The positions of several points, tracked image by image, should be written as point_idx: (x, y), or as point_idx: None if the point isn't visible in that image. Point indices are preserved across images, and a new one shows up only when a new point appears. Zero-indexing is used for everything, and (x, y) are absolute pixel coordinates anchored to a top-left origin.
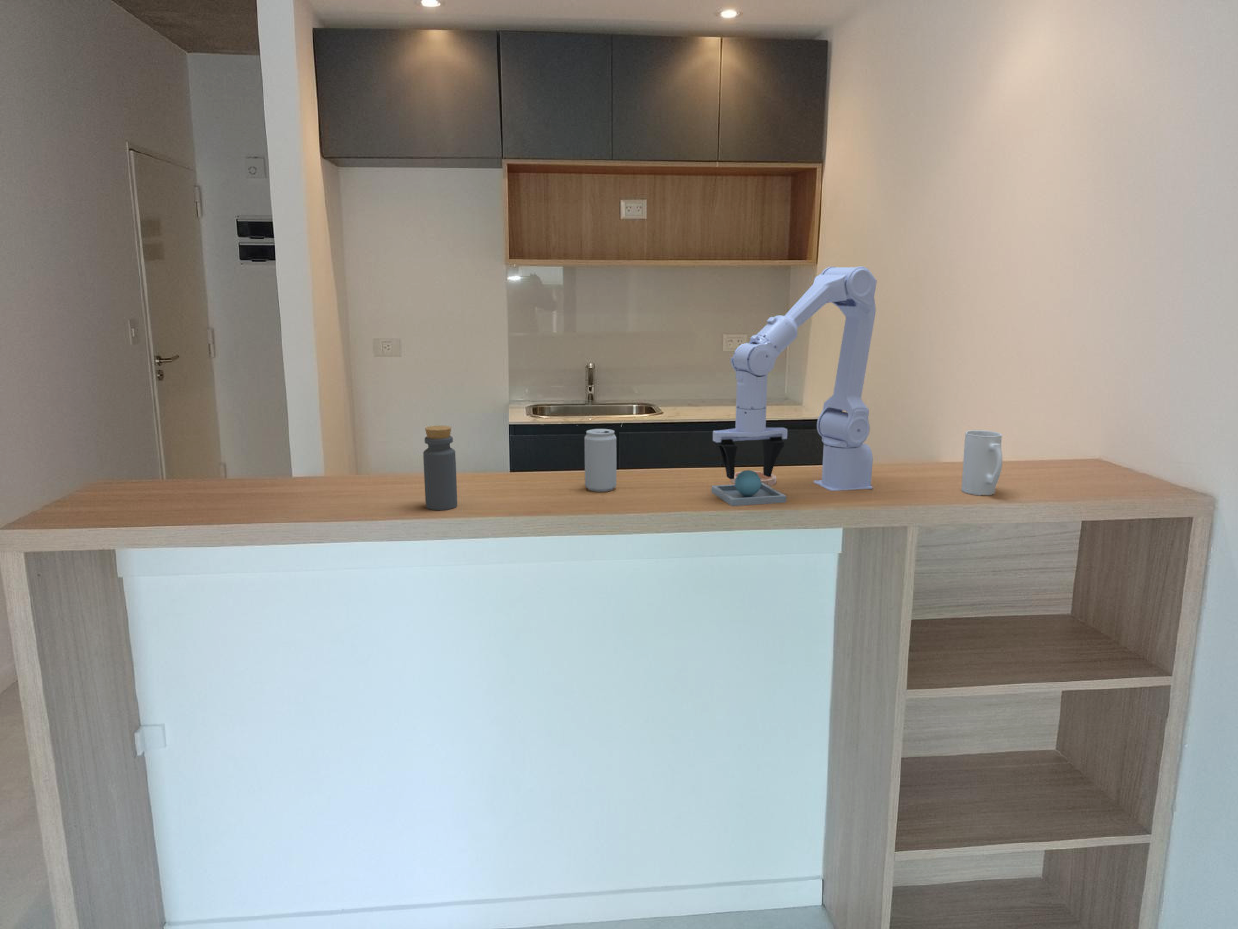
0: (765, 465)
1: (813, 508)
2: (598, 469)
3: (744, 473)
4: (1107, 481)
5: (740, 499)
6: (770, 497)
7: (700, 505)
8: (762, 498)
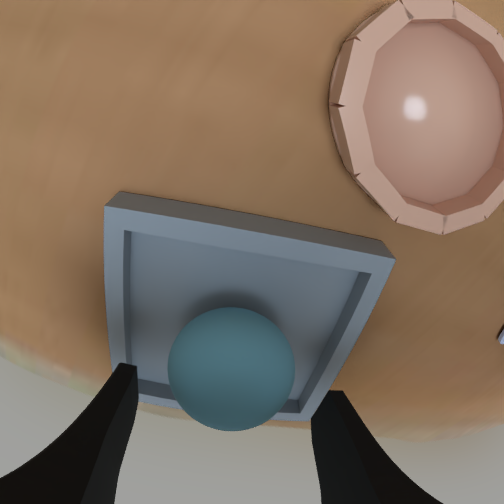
0: (333, 440)
1: None
2: None
3: (196, 419)
4: None
5: (145, 402)
6: None
7: (38, 315)
8: None
